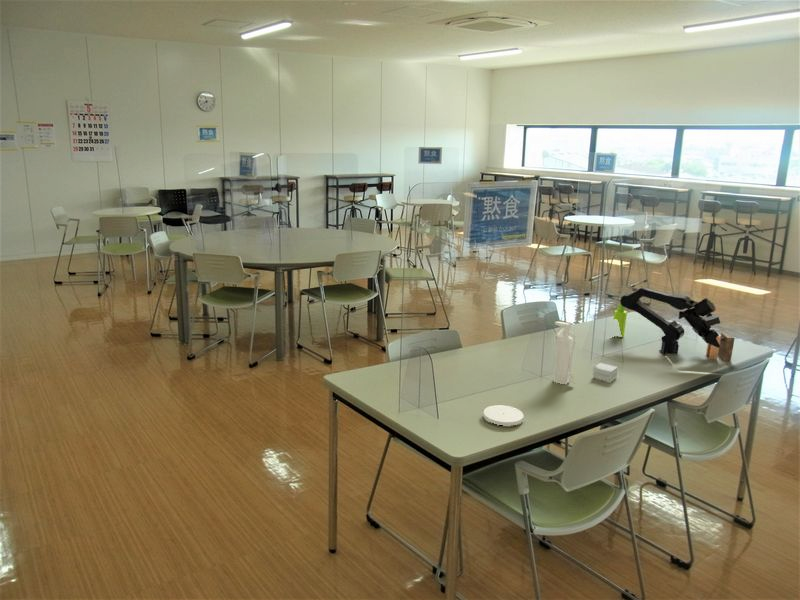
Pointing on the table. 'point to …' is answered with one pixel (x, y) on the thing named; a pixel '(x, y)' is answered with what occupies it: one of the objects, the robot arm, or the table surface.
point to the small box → (605, 372)
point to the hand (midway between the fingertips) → (716, 344)
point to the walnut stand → (726, 346)
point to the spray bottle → (564, 354)
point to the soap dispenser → (621, 317)
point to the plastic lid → (503, 415)
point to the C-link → (713, 350)
